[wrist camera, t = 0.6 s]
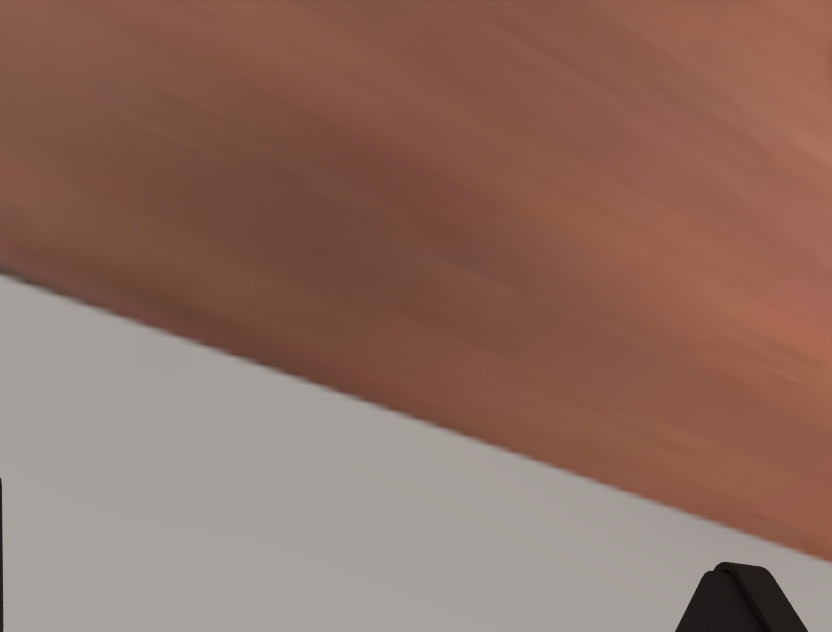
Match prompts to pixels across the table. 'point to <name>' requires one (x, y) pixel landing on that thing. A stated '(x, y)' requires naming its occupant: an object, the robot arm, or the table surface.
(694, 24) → the table surface
